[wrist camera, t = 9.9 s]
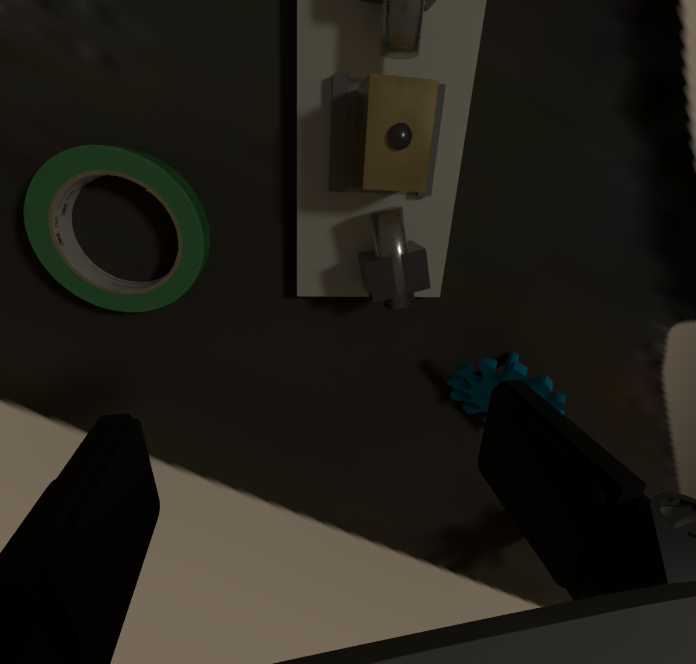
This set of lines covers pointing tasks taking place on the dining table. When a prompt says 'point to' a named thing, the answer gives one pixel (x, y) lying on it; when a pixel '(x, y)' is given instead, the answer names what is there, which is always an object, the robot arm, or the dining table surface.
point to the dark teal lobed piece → (481, 387)
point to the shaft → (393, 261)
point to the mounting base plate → (338, 136)
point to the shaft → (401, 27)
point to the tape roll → (63, 249)
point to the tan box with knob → (393, 132)
